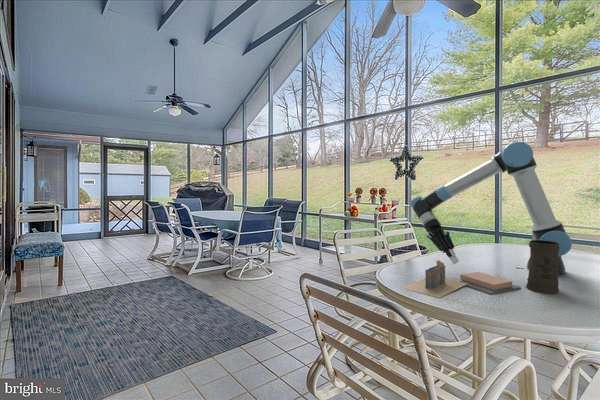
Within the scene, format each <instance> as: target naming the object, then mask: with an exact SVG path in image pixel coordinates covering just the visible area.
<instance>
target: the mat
mask: <svg viewBox="0 0 600 400" xmlns="http://www.w3.org/2000/svg"><path fill="white" fill-rule="evenodd" d="M459 281H460V282H465V283H468V284H466V285H464V286H465V287H468V288H470V289H474V290H475V291H480V292H482V293H485V294H488V295H494V294H501V293H506V292H511V291H516V290H517V291H518V290H522V286H518V285H515V284H512V287H509V288H504V289H498V290H491V289H488V288H485V287H482V286H479V285H476V284H472V283H469V282H466V281H463V280H459ZM464 286H463V287H464Z"/></svg>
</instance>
